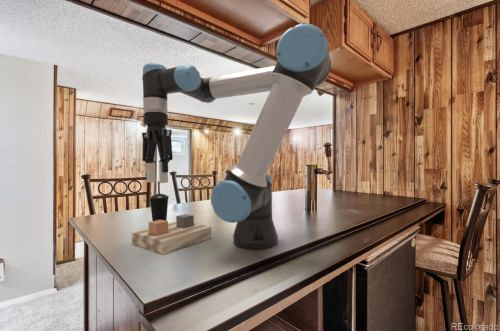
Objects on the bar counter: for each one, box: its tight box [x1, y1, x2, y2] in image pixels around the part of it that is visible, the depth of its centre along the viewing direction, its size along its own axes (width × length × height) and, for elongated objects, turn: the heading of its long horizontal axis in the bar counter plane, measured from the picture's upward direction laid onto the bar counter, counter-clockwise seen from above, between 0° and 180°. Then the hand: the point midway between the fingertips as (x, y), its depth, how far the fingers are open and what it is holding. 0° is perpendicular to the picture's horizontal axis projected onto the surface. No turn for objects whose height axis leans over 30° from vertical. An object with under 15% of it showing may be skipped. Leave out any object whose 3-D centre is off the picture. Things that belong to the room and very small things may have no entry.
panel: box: [131, 221, 213, 256], centre depth 87 cm, size 18×20×4 cm
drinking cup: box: [148, 180, 170, 222], centre depth 102 cm, size 8×8×20 cm
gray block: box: [175, 213, 195, 228], centre depth 92 cm, size 4×4×5 cm
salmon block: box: [148, 220, 169, 236], centre depth 83 cm, size 4×4×5 cm
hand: (157, 182), depth 83 cm, fingers open, 6 cm apart
